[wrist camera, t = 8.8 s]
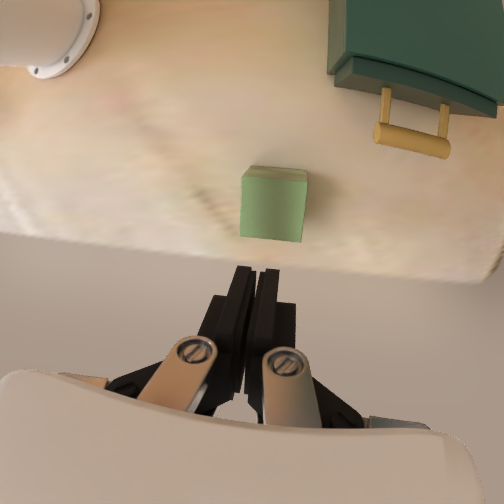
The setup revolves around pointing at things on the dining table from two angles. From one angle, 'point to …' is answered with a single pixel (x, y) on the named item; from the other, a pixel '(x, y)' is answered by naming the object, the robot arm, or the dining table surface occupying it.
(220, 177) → the dining table surface
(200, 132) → the dining table surface
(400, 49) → the cabinet
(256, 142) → the dining table surface
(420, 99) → the drawer
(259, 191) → the block
